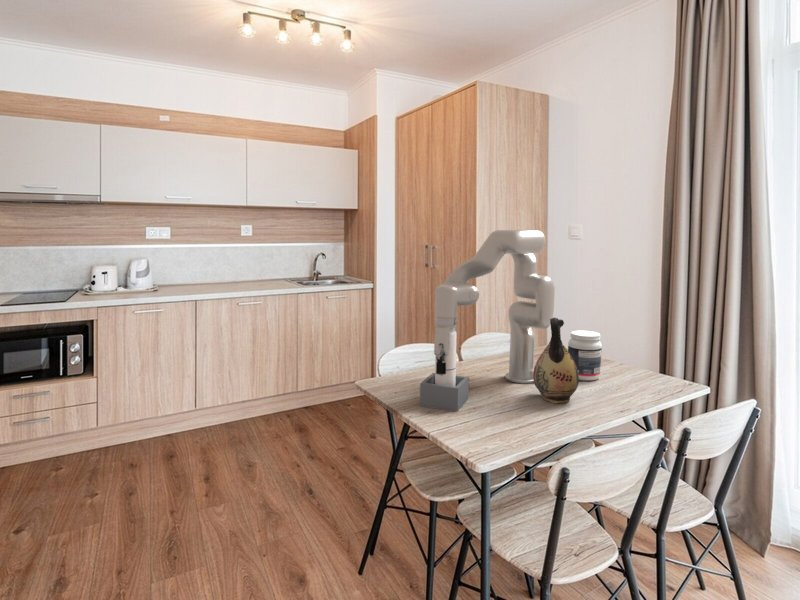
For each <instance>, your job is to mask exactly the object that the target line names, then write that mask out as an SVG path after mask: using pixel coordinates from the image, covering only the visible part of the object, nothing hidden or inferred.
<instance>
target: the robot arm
mask: <svg viewBox="0 0 800 600" xmlns="http://www.w3.org/2000/svg"><path fill="white" fill-rule="evenodd" d="M546 243H547V242H546V236H545V234H544V233H543V232H542V231H541V230H537V229H536V230H535V229H498V230H494V231H492V232H491V233H490V234H489V236H488V237H487V238H486V240H484V241H483V243H482V245H481V246H480V248H479V249H478V251H477V252H476V253H475V254H474V256H473V257H472V258H470V259H468V260H467V261H465V262H463V263H462V264H460V265H459V266H458V267H456V268H455V269H454V270H452V271H451V272H450V274H449V275H448V276H447V278H445V280H444V282H443V284H440V285H437V286H436V288H435V293H434V294H435V296H434V297H435V301H434V305H435V306H434V324H435V325H434V326H435V331H434V332H435V333H434V346H433V354H434V356H435V355H436V356H437V357H436V373H437V374H446V363H445V359H446V356H448V355H449V350H450V334H452V333H453V332H455V331H456V327H458V306H466V307H467V306H468V307H469V306H472V305H474V304H476V303H477V302H478V300H479V297H480V292H479V289H478V288H477V287H476V286H475V285H473V284H471V283H467V282H469V281H470V280H474V279H476V278H480V277H483V276H485V275H488V274H490V273H493V271H494V270H495V269H496V267H497V266H498V264H499V263H500V261H501V260H502V258H503V257H504V256H505V255H507V254H509V255H511V257H512V259H513V266H514V270H513V271H514V272H513V292H514V295H515V296H517V297H518V298H522V299H526V300H527V299H528V300H533V301H534V300H535V302H531V301H525V300H517V301H515V302H513V303H512V304H511V305H510V306H509V309H508V321H509V328H510V331H509V332H510V334H509V335H510V339H509V366H508V372H507V373H505V375H504V378H505V379H506V381H509V382H513V383H517V384H531V383H533V384H534V380H533V374H534V368H535V365H534V364H535V341H536V336H535V331H534V329H541V330H545V329H548V328H549V327H551V324H550V319H551V318H554V310H555V309H554V308H555V291H556V289H555V288H556V287H555V283H554V281H553V280H552V278H550V277H549V276H547V275H542V274H541V275H539V274H538V273H537V271H538V269H537V267H538V263H537V258H536V256H535V254H539V253H540V252H542V251H543V249H544V248H545V246H546ZM533 328H534V329H533ZM442 349H443V350H444V352H445V354H442V353H441V352H442ZM442 356H443V358H442Z"/></svg>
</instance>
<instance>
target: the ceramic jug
mask: <svg viewBox="0 0 800 600" xmlns="http://www.w3.org/2000/svg"><path fill="white" fill-rule="evenodd" d="M550 324H551V325H550V330H551V331H550V333H551V337H550V340H549V343H548V344H547V345H546V347H545V348H544V350H543V351H542V352H541V354H540V355H539V357H538V358H537V360H536V362H535V365H534V367H535V368H534V374H533V380H534V382H533V384H534V386H535V388H536V389H537V390H538V392H539V393H540V394H541V396H542V398H543V400H544V401H546V402H549V403H552V404H558V403H559V404H561V403H562V404H563V403H567V402H570V400H571V396H573V394H574V393H576V391H577V389H578V387H579V384H580V383H579V382H580V380H579V376H578V370H577V367H576V364H575V362H574V360H573V358H572V357H571V355H570V353H569V352H568V348H566V346H565V345H564V344H563V342H562V339H561V328H562V327H563V326H564V325H565V322H564V319H559V318H557V317H553V318H551V319H550Z"/></svg>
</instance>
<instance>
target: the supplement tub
mask: <svg viewBox="0 0 800 600" xmlns="http://www.w3.org/2000/svg"><path fill="white" fill-rule="evenodd" d="M600 340H601V333H599V332H597V331H592V330H583V329H582V330H573V331H571V332H570V339H569V340H568V344H567V351H568V352H569V353H570V355H571V357H572V358H573V360H574V362H575V364H576V367H577V370H578V376H579V381H585V382H586V381H589V382H590V381H595V380H598V379H599V378H600V377H601V363H602V350H603V349H602V348H603V345H602V342H601V341H600Z"/></svg>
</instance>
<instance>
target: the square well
mask: <svg viewBox="0 0 800 600" xmlns="http://www.w3.org/2000/svg"><path fill="white" fill-rule="evenodd" d="M469 382H470V377H469V376H462V375H456V383H455V387H453V386H446V385H438V384H435V372H432V373H431V374H429V376H427V377H426V378H425V379H424V380H422V381H421V382H420V383H419V406H420V407H425V406H426V407H425V408H431V407H432V408H433V409H437V410H438V409H439V410H445V411H451V412H452V411H453V412H459V411H460V409H462V407H463V406H464V405H465V404H466V403H467V401H468V400H469V396H470V395H469V391H470V390H469V388H470V385H469V384H470V383H469ZM463 404H464V405H463ZM432 408H431V409H432Z"/></svg>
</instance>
